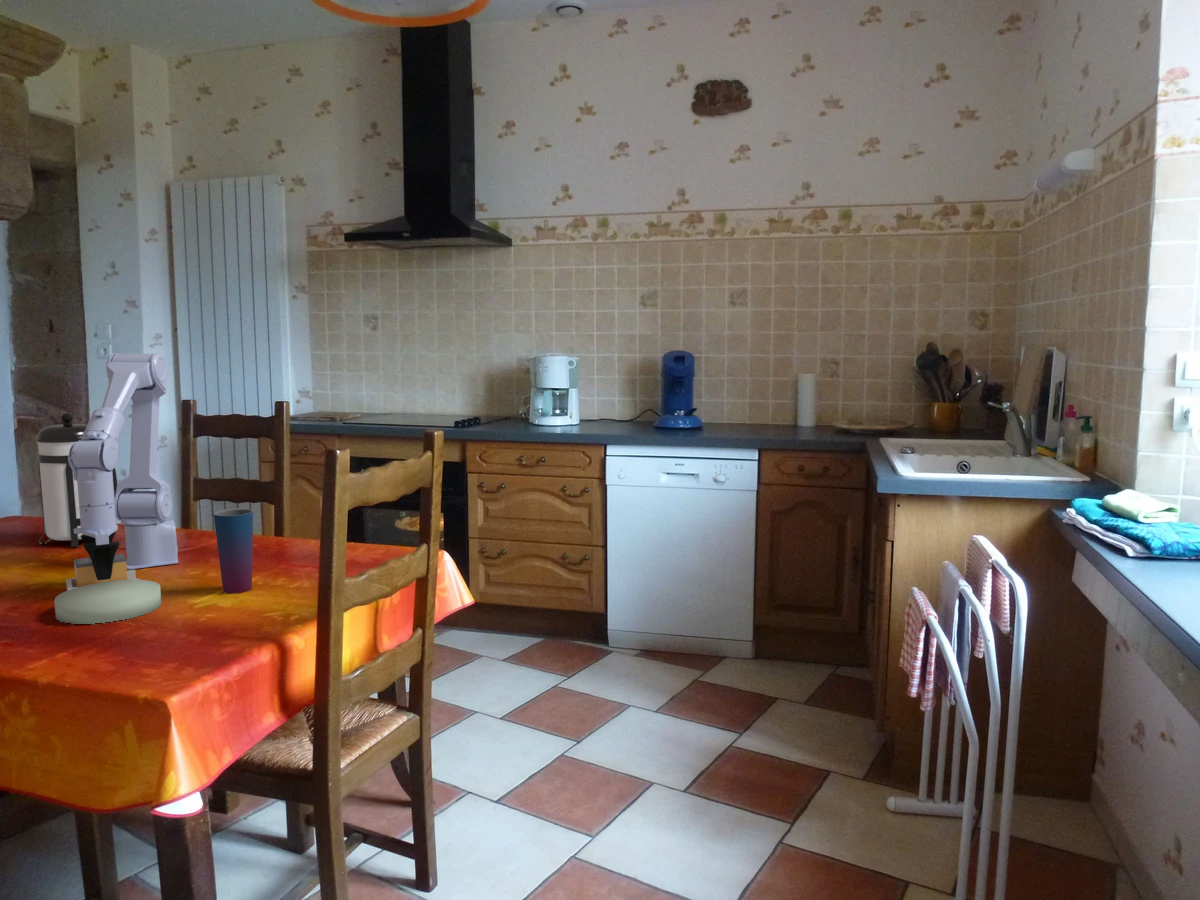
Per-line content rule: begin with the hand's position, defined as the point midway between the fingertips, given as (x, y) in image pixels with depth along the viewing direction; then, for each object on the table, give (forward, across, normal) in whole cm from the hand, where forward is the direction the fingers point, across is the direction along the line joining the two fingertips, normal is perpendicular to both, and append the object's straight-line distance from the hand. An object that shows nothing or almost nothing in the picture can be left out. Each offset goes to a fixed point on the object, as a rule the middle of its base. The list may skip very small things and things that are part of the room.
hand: (102, 574), depth 158 cm
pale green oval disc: (+3, +9, 0) cm, 9 cm away
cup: (+3, +14, +21) cm, 25 cm away
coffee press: (+3, -46, -1) cm, 46 cm away
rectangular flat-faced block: (+3, 0, 0) cm, 3 cm away
